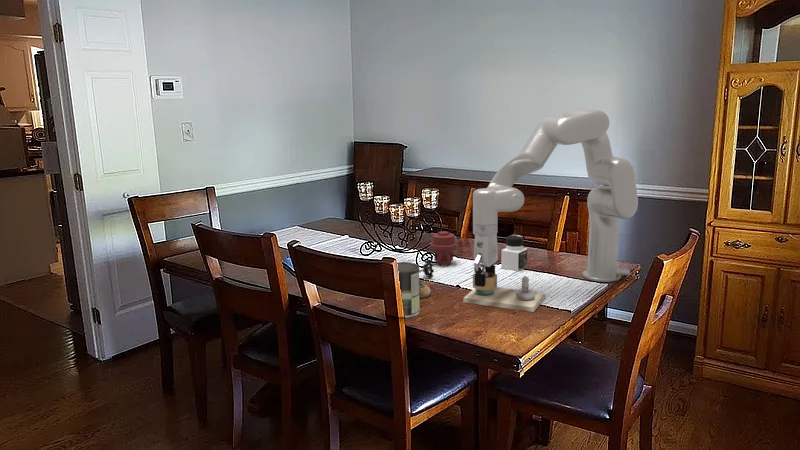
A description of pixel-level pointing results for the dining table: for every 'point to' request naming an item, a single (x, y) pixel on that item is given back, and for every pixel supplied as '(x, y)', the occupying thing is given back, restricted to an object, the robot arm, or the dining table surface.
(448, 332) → the dining table surface
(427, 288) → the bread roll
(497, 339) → the dining table surface
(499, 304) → the hub board
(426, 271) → the valve
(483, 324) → the dining table surface
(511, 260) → the medicine bottle
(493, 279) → the ring
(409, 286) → the coffee can
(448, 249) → the mechanical component
